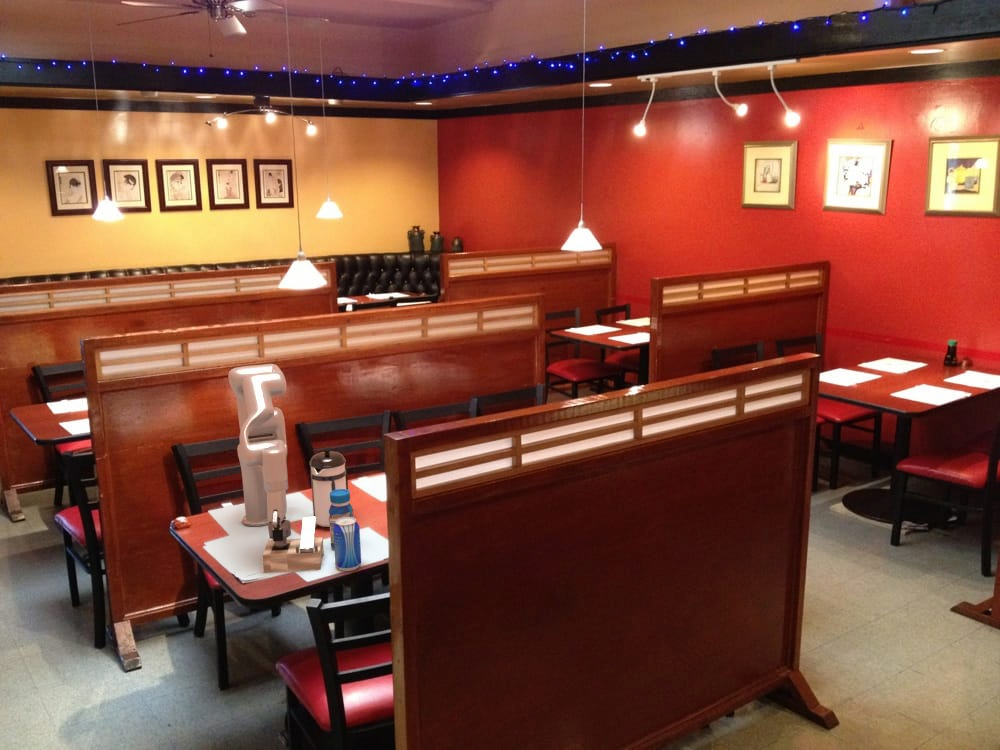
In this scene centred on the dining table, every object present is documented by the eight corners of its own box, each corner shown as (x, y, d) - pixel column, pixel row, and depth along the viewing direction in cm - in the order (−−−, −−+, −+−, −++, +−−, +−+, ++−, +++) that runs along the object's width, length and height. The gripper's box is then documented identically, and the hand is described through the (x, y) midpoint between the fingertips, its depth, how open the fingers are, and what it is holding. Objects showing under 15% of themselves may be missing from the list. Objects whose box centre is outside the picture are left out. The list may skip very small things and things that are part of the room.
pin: (272, 546, 280) (270, 520, 278) (293, 545, 281) (291, 519, 279) (268, 555, 274) (266, 528, 271) (290, 554, 274) (288, 527, 272)
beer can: (332, 563, 278) (330, 518, 274) (357, 559, 281) (355, 514, 278) (338, 574, 270) (335, 527, 267) (364, 569, 274) (361, 523, 270)
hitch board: (269, 556, 284) (268, 535, 282) (323, 553, 286) (322, 532, 284) (263, 572, 272) (261, 550, 270) (320, 569, 274) (318, 547, 272)
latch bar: (303, 519, 282) (303, 516, 281) (315, 519, 283) (315, 516, 282) (300, 553, 272) (299, 550, 271) (313, 553, 273) (312, 550, 272)
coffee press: (358, 528, 306) (354, 450, 299) (314, 536, 300) (309, 455, 293) (349, 512, 322) (344, 436, 315) (306, 518, 316) (301, 442, 309)
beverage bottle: (360, 544, 292) (357, 490, 288) (343, 553, 285) (340, 498, 281) (342, 539, 297) (339, 486, 292) (325, 548, 290) (321, 493, 285)
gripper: (268, 476, 280) (272, 526, 284) (259, 494, 263) (264, 547, 267) (291, 475, 281) (295, 525, 285) (284, 493, 264) (288, 546, 268)
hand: (280, 535), depth 276 cm, fingers closed on pin, 7 cm apart
